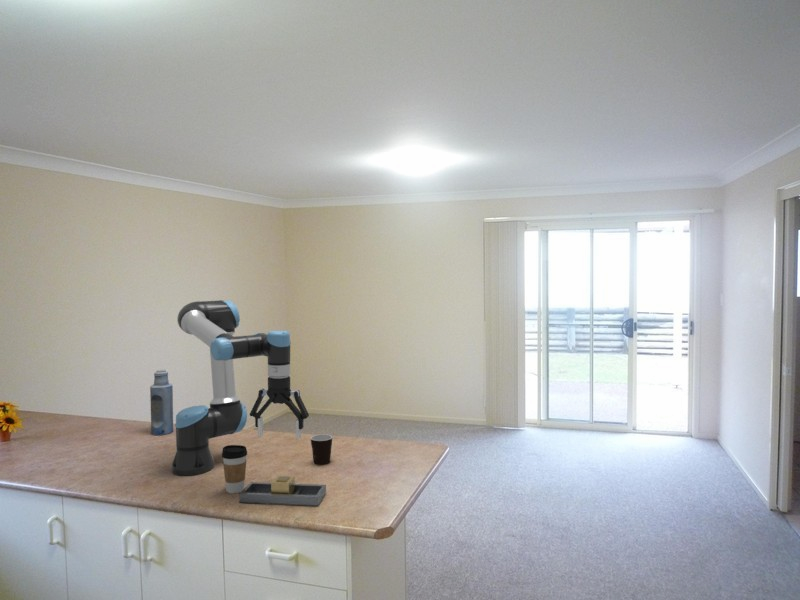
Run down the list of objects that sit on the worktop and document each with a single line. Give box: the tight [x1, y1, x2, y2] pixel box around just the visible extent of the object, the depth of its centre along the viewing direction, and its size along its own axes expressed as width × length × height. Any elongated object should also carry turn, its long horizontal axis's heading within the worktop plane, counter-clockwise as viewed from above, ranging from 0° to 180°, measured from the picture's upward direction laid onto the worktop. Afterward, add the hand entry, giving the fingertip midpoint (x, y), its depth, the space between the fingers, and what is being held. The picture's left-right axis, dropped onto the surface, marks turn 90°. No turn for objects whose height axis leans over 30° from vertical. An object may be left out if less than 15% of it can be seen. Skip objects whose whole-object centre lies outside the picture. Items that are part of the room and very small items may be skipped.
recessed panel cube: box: [270, 475, 296, 494], centre depth 176 cm, size 6×6×6 cm
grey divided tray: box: [238, 481, 327, 507], centre depth 176 cm, size 26×10×3 cm, turn 83°
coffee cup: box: [221, 444, 248, 494], centre depth 183 cm, size 8×8×15 cm
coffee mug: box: [310, 433, 333, 466], centre depth 211 cm, size 12×9×10 cm
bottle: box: [149, 369, 174, 436], centre depth 251 cm, size 10×10×30 cm
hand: (279, 437), depth 181 cm, fingers open, 13 cm apart
